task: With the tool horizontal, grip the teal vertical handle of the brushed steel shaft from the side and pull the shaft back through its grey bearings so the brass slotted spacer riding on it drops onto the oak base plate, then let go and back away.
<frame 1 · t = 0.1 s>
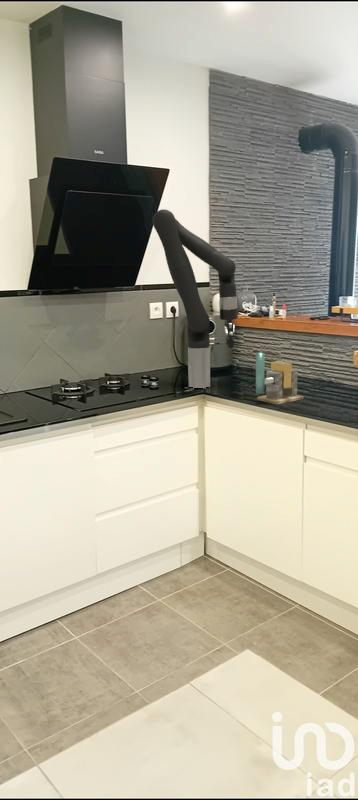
hand: (230, 346, 263), 17 cm above the counter, fingers open, 8 cm apart
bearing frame: (280, 399, 238), on the counter
shaft: (274, 370, 234), point 12 cm above the counter, slide at 0.0 cm, touching spacer
spacer: (280, 386, 237), point 5 cm above the counter, touching shaft
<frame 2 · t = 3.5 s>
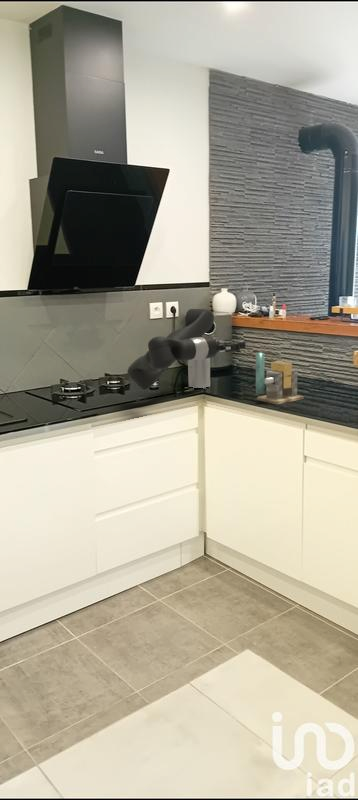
hand: (237, 343, 221), 23 cm above the counter, fingers open, 8 cm apart
nothing on the counter moved.
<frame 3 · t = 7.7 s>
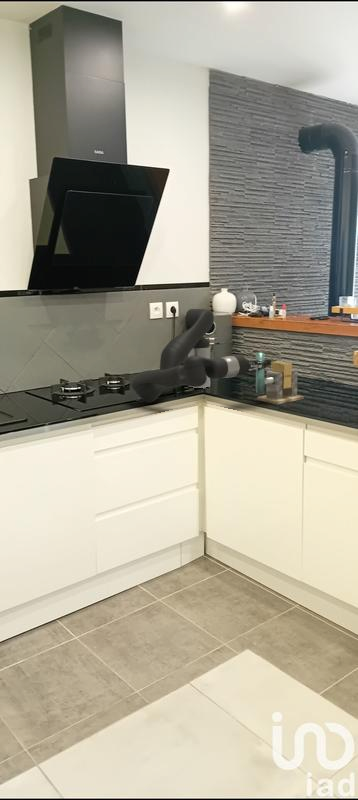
hand: (266, 361, 231), 15 cm above the counter, fingers closed on shaft, 3 cm apart
shaft: (274, 370, 234), point 12 cm above the counter, slide at 0.0 cm, touching gripper, spacer
everything else where it was.
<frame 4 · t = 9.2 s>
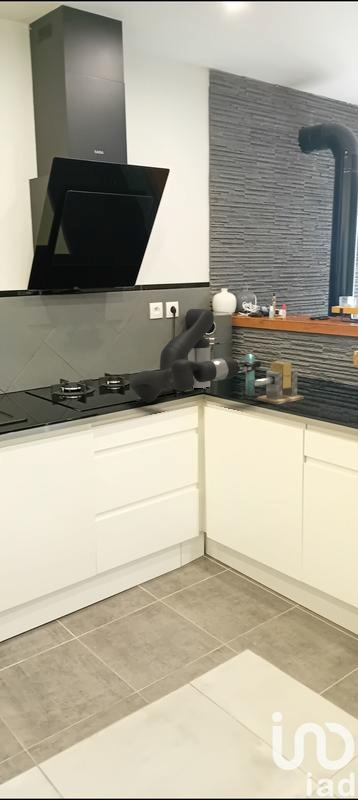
hand: (256, 363, 228), 15 cm above the counter, fingers closed on shaft, 3 cm apart
shaft: (264, 372, 231), point 12 cm above the counter, slide at 5.0 cm, touching gripper
spacer: (280, 386, 237), point 5 cm above the counter, touching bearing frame
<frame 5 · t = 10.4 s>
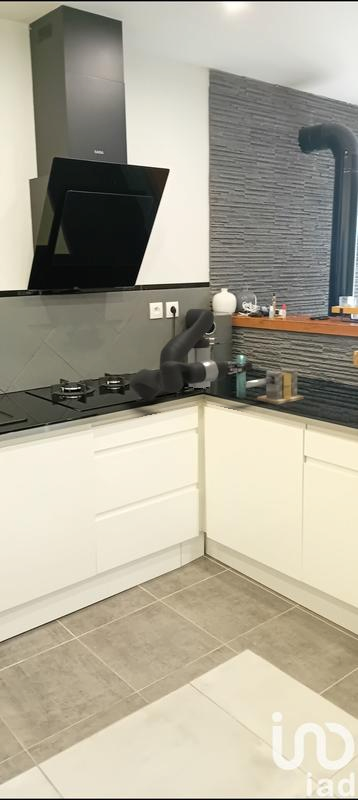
hand: (247, 364, 225), 15 cm above the counter, fingers closed on shaft, 3 cm apart
shaft: (255, 373, 228), point 12 cm above the counter, slide at 9.3 cm, touching gripper
spacer: (280, 396, 238), point 1 cm above the counter, touching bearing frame
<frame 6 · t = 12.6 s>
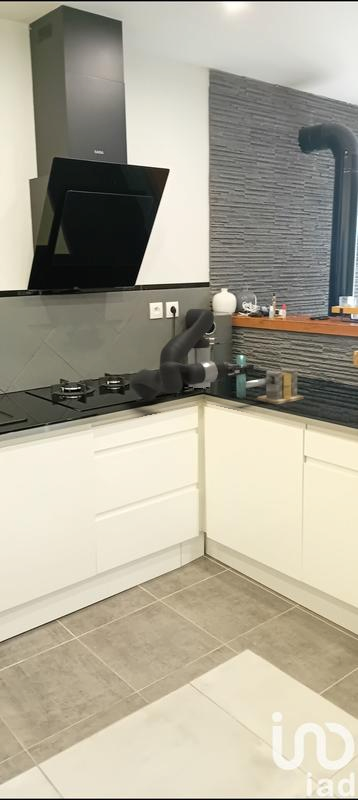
hand: (245, 366, 225), 15 cm above the counter, fingers open, 8 cm apart
shaft: (255, 373, 228), point 12 cm above the counter, slide at 9.3 cm
everything else where it was.
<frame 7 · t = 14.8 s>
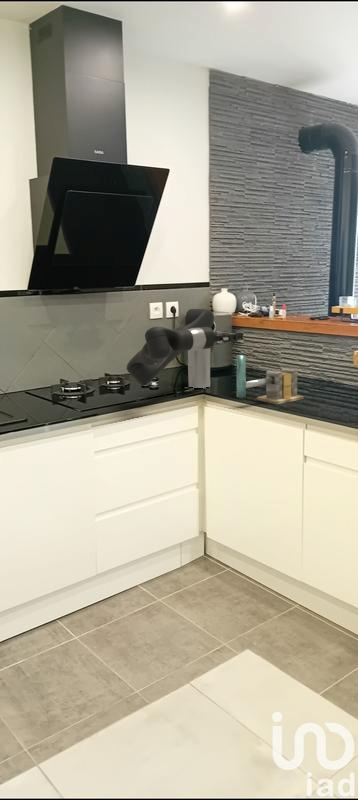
hand: (234, 334, 220), 27 cm above the counter, fingers open, 8 cm apart
nothing on the counter moved.
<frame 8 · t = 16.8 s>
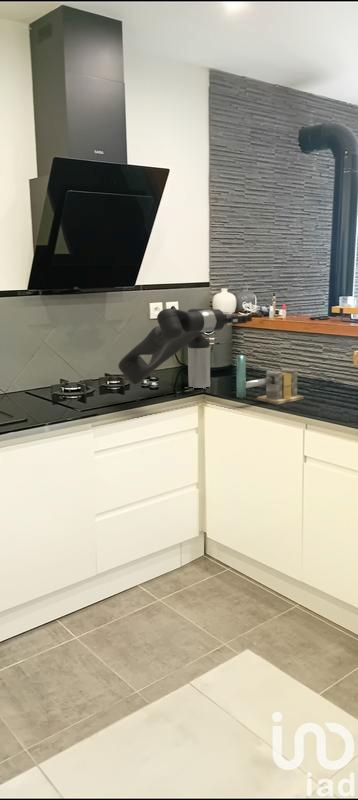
hand: (243, 317, 227), 32 cm above the counter, fingers open, 8 cm apart
nothing on the counter moved.
at the end: shaft slide at 9.3 cm; spacer point 1.0 cm above the counter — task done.
